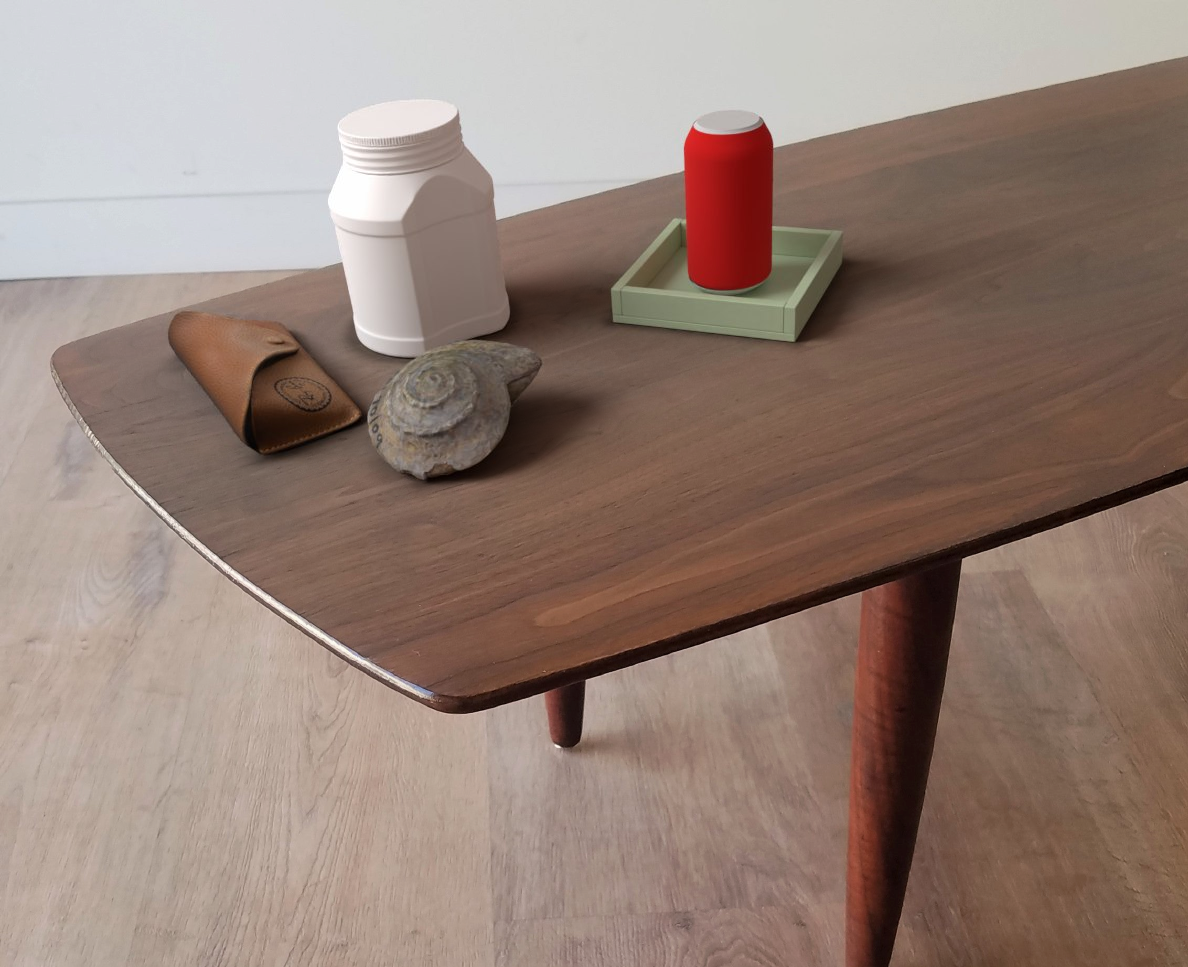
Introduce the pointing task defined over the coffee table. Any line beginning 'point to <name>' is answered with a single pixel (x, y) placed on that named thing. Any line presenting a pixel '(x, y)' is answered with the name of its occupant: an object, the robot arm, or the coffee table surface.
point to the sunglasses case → (260, 380)
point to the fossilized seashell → (449, 406)
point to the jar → (416, 229)
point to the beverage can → (729, 202)
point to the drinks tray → (766, 311)
